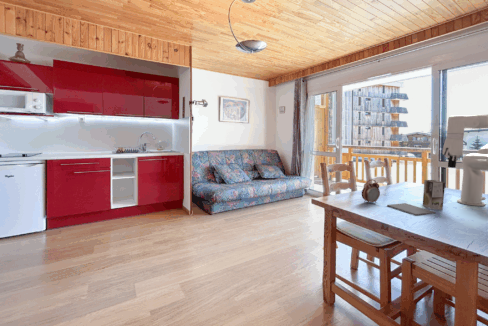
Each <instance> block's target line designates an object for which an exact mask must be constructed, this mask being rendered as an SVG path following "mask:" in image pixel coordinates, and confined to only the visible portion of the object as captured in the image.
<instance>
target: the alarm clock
mask: <svg viewBox="0 0 488 326" xmlns="http://www.w3.org/2000/svg"><path fill="white" fill-rule="evenodd" d="M370 181H374V182H373V183H369V182H370ZM379 188H380V184H379V183H378V181H376V179H375V180H374V179H369V180H367V182H365V183H364V184H363V189H362V190H361V197H362V199H363V200H364V203H366V202H367V203H369V202H370V203H377V201H378V199H380V194H381V191H380V189H379Z"/></svg>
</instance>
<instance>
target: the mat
mask: <svg viewBox="0 0 488 326" xmlns="http://www.w3.org/2000/svg"><path fill="white" fill-rule="evenodd" d="M386 207H389V208H392V209H394V210H397V211H401V212H404V213H407V214H409V215H413V216H423V215H424V216H425V215H433V214H436V211H433V210H431V209H430V210H429V209H427V208H423V207H419V206H416V205H412V204H410V203H405V202H404V203H403V202H402V203H394V204H387V205H386Z"/></svg>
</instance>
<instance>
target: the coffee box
mask: <svg viewBox="0 0 488 326" xmlns="http://www.w3.org/2000/svg"><path fill="white" fill-rule="evenodd" d="M423 181H424V182H423V192H422V193H423V194H422V196H423V197H422V206H424V207H426V208H428V209H430V210H437V211H438V210H440V211H443V209H444V208H443V207H444V198H445V197H444V196H445V189H446V188H445V187H446V182H445V181H441V180H436V179H424V180H423Z"/></svg>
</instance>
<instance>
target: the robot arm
mask: <svg viewBox="0 0 488 326" xmlns="http://www.w3.org/2000/svg"><path fill="white" fill-rule="evenodd" d="M446 129H447V130H446V137H445V138H446V139H445V140H444V144H443V147H442V155H443V156H444V157H445V158H446V159H447V168H455V169H456V166H457V161H458V158H459V159H460V158H461V156H462V155H463V153H464V133H465V129H472V130H473V129H475V130H478V129H481V130H482V129H488V114H475V115H472V114H471V115H450V116H449V117H448V118H447V127H446ZM461 164H462V170H463V171H462V183H461V191H460V198H458V199H456V202H457V203H459V204H461V205H468V206H475V207H483V206H486V203H485V202H483V201H486V199H487V198H486V197H485V196H483V193H484V183H485V175H484V172H482V171H488V143H486V144H485V145H484V146H482V147H481V148H479V149H477V151H476V153H468V154H466V155H464V156H463V157H462V163H461Z"/></svg>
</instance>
